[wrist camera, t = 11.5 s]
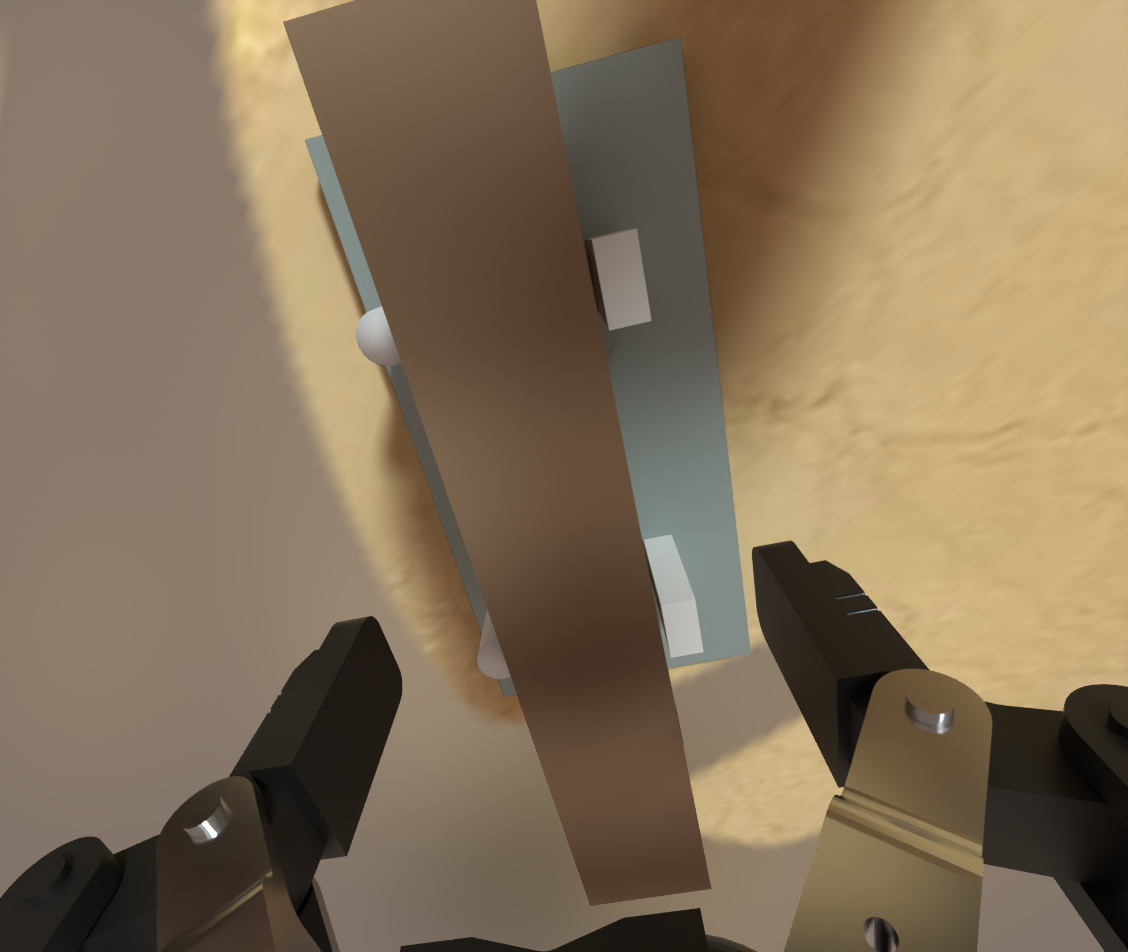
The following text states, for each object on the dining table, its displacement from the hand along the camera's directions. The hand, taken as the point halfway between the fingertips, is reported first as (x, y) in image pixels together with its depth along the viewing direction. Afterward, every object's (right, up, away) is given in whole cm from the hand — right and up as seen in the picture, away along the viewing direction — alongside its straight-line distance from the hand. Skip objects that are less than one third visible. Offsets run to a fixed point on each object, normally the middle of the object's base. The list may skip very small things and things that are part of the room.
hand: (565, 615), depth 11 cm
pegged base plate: (0, +5, +11) cm, 12 cm away
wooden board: (0, +5, +9) cm, 11 cm away
